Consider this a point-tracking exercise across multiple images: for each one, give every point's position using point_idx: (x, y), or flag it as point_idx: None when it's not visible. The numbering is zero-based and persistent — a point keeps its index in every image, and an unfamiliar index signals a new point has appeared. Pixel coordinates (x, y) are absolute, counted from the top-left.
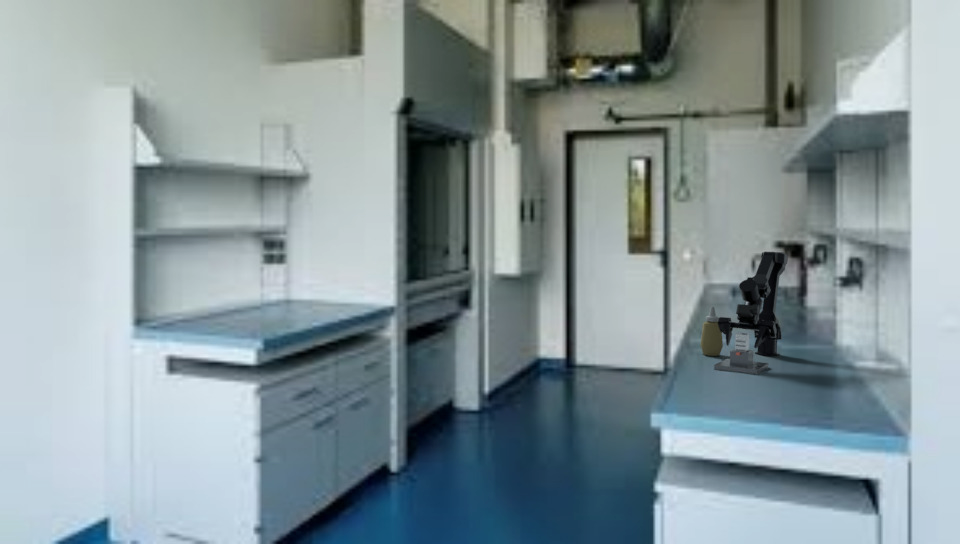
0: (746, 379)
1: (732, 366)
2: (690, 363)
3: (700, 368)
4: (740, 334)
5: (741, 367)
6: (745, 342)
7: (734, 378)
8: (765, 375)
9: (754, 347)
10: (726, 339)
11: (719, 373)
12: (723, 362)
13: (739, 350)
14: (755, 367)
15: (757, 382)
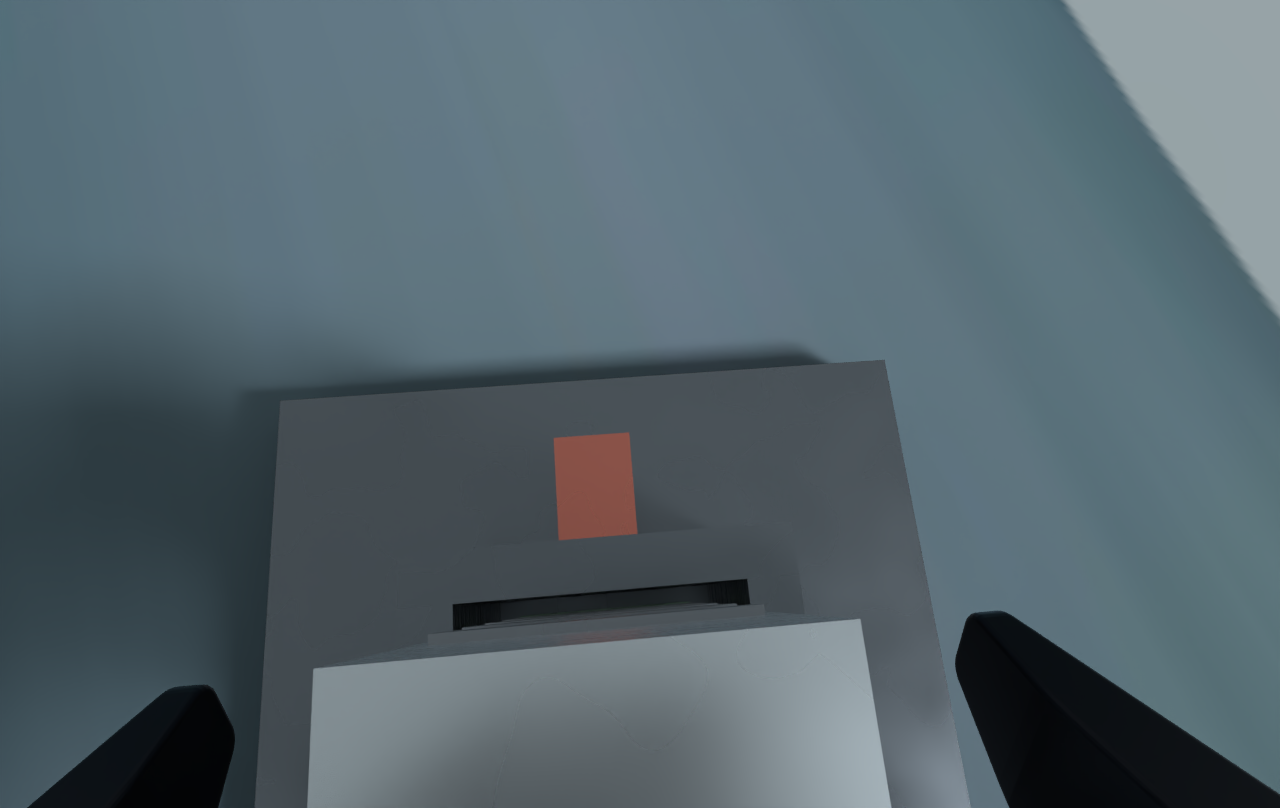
0: (344, 82)
1: (642, 408)
2: None
3: (1005, 322)
4: (617, 655)
5: (515, 421)
6: (440, 642)
7: (467, 55)
8: (196, 430)
9: (225, 714)
10: (1121, 699)
11: (699, 192)
12: (881, 633)
13: (621, 612)
14: (342, 564)
15: (207, 18)
